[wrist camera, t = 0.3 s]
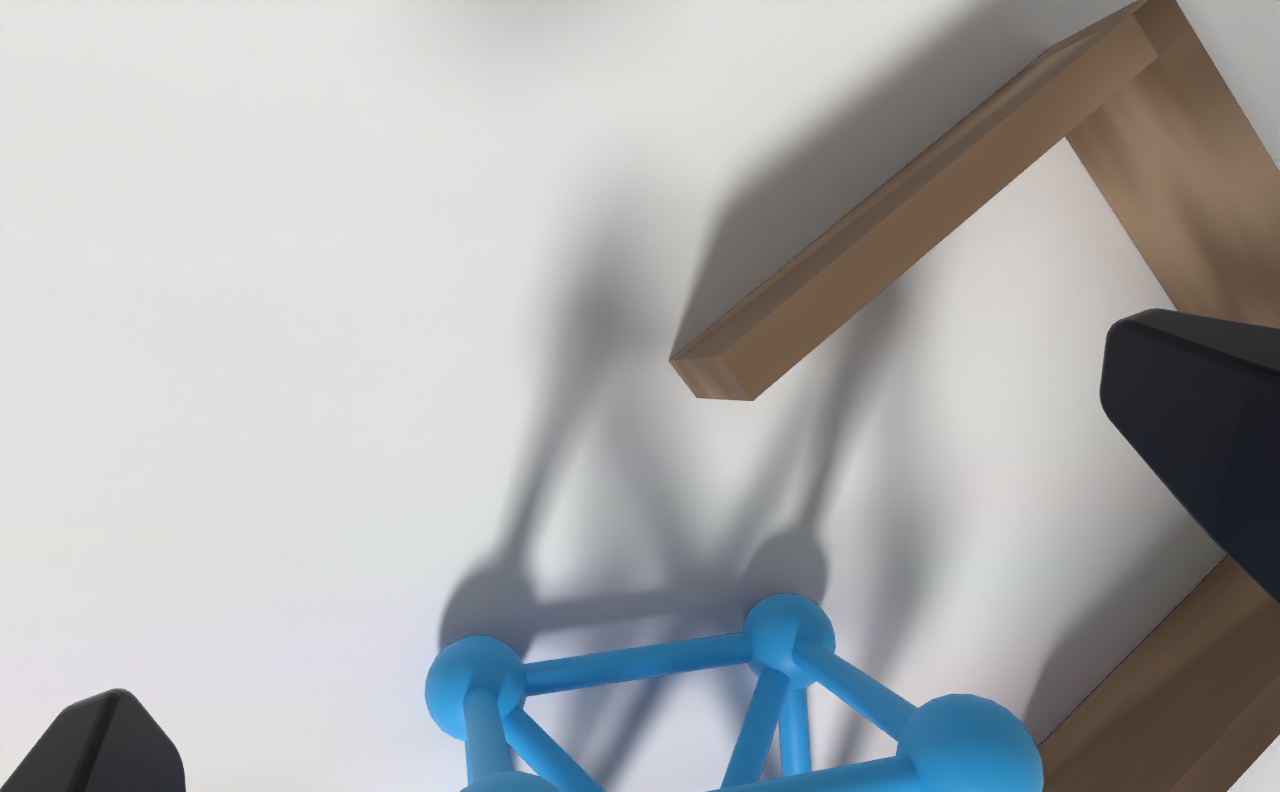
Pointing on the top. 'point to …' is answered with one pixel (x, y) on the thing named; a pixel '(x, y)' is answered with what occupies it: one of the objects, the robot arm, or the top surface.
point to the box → (1191, 276)
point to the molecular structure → (785, 664)
